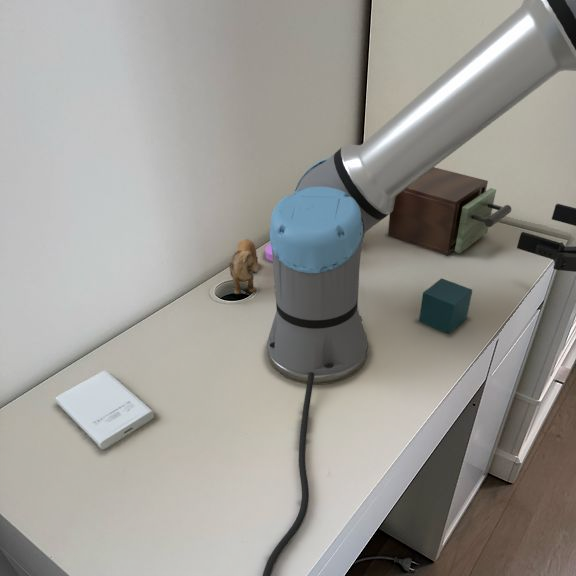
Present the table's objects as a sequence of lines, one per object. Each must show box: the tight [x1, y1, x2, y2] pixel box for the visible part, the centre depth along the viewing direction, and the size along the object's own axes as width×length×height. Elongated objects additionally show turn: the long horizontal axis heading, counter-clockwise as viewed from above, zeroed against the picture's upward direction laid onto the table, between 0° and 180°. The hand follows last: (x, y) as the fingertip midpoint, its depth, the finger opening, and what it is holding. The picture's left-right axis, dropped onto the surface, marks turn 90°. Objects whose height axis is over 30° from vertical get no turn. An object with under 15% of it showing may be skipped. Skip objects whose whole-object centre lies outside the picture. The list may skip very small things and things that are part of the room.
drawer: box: [451, 187, 512, 254], centre depth 103 cm, size 17×10×9 cm, turn 47°
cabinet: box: [387, 166, 489, 256], centre depth 106 cm, size 14×12×11 cm
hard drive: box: [55, 370, 156, 451], centre depth 75 cm, size 2×8×12 cm
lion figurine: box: [228, 238, 262, 295], centre depth 96 cm, size 15×5×9 cm, turn 6°
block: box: [418, 277, 473, 335], centre depth 86 cm, size 6×6×6 cm
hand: (537, 225), depth 94 cm, fingers open, 13 cm apart
